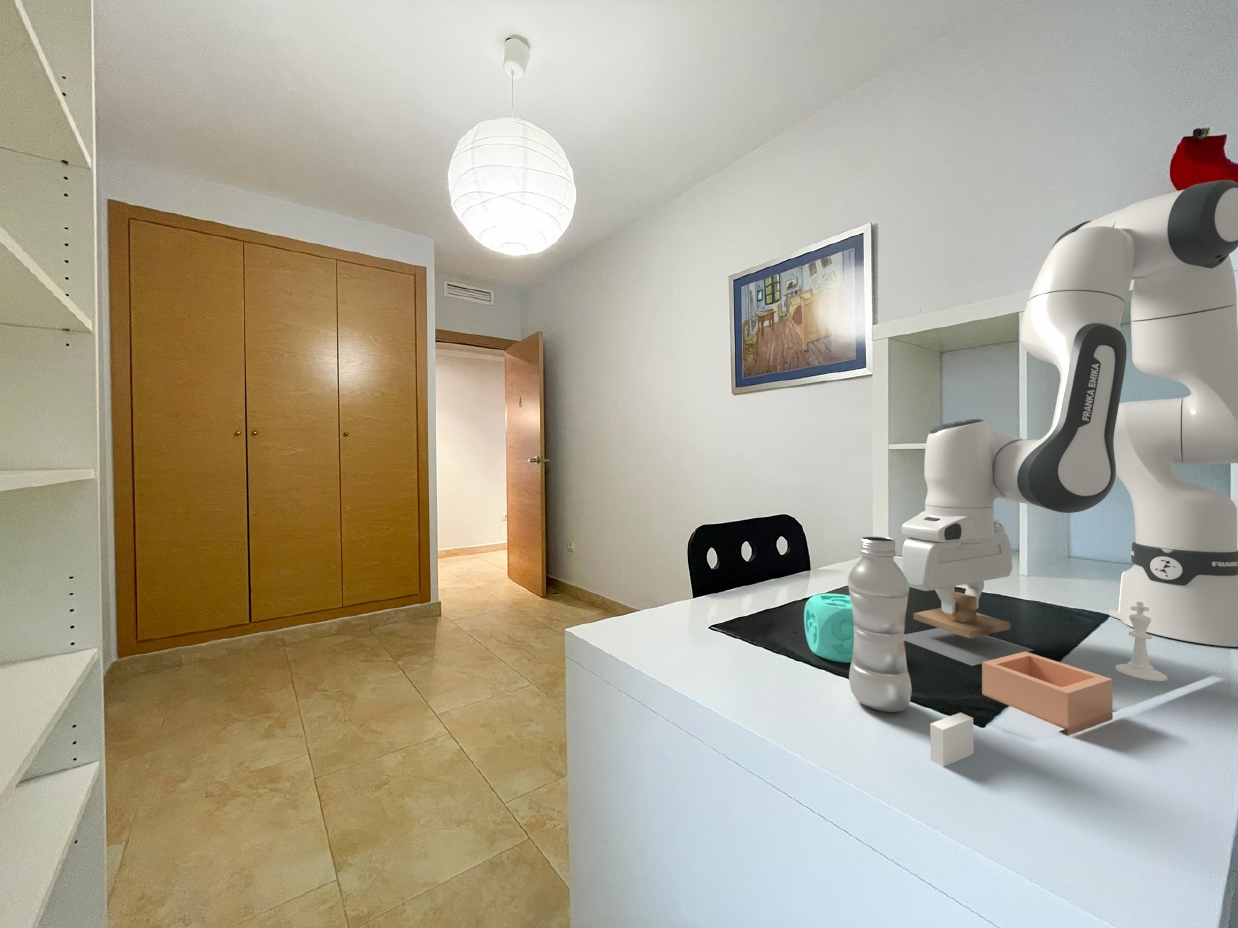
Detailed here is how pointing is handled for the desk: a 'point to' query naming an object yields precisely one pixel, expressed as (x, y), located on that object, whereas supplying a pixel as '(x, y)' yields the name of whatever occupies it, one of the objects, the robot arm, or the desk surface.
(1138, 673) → the chess piece
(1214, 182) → the robot arm
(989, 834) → the desk surface
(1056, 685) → the dish
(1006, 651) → the mat
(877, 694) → the plastic bottle
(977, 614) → the lid
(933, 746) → the eraser
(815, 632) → the decorative dice
